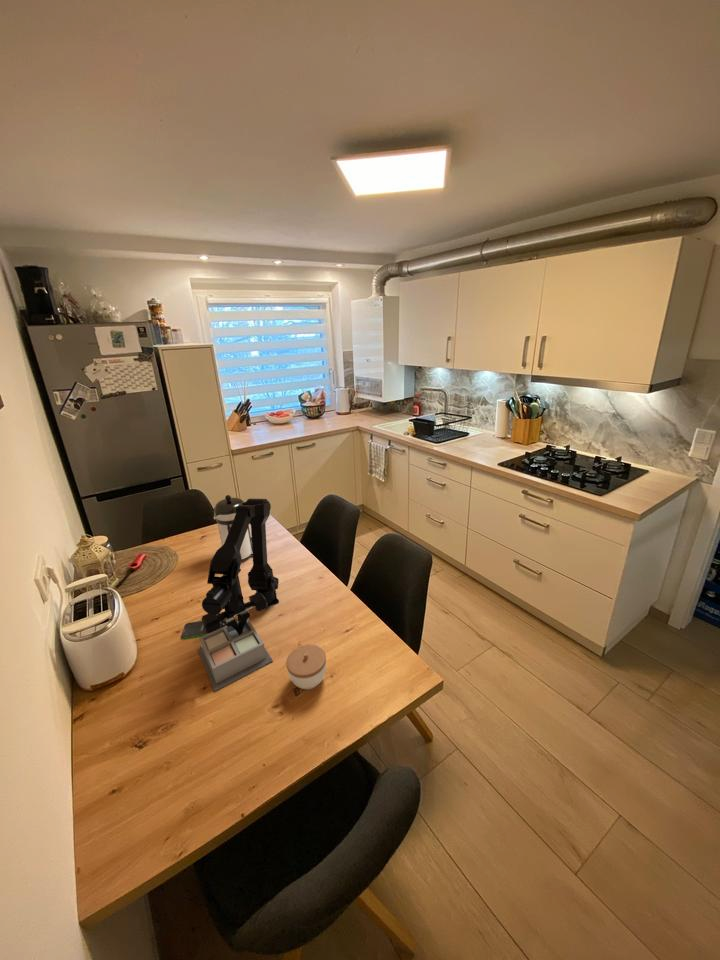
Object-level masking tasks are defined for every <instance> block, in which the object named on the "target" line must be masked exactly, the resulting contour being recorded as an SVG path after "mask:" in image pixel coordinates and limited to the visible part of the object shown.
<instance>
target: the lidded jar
mask: <svg viewBox="0 0 720 960" xmlns="http://www.w3.org/2000/svg"><path fill="white" fill-rule="evenodd" d="M285 663H286V669H287V673H288V676H289V679H290V680H291V683H293V685H295V686H296V687H297V688H299V689H302V690H307V691H308V690H312V689H315V688H316V687H317V686H318V685H319V684H320V683H321V682H322V681H323V679H324V677H325V676H326V675H325V674H326V669H327V655H326V652H325V650H324V649H323V648H322V647H320V646H318V645H316V644H312V643H311V644H310V643H309V644H304V645H303V644H302V645H300V646H298V647H295V648H294V649H293V650H292V651H291V652H289V654H288V656H287V658H286V661H285Z"/></svg>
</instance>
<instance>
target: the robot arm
mask: <svg viewBox="0 0 720 960" xmlns="http://www.w3.org/2000/svg"><path fill="white" fill-rule="evenodd" d="M271 508H272V507H271V502H270V501H268V499H267V498H247V499H246V501H243V503H240V505H239V506H237V508H236V515H235V517H234V520H233V523H232V525H231V528H230V530H229V533H228V535H227V538H226V540H225V543H224V545H223V546H222V545H221V546H220V547H219V548H218V549H217V550H215V553H214V555H213V557H212V559H211V560H210V564H209V571H208V574H207V575H208V576H207V582H206V583H207V584H209V585H212V587H211V588H210V590H208V591H207V592H206V594H205V595H206V596H205V597H204V598H203V600H202V602H201V608H202V609H203V611H204V612H205V613H206V614H204V615H202V617H201V621H202V623H203V626H204V628H205V630H206V632H207V633H211V632H213V631H215V630H218V629H219V627H220V622H219V621H221V620H224V622H225V624H226V625H227V627H229V626H232V627H233V628H234V629H235V630H236V631H237V633H238V634H239V635H240V634H242V631H243V628H244V626H245V623H246V621H247V619H249V618H251V613H250V612H249V611H250V609H253V608H255V611H256V612H257V611H258V612H260V611H263V610H265V609H267V608H270V607H272V606H274V605H276V604H278V603H280V600H279V599H278V597H277V591H276V590H278V589H279V578H278V577H276V576H274V572H273V569H272V567H271V565H270V564H269V563H268V552H267V551H268V547H267V532H266V531H267V530H266V524H267V520H268V519H269V517H270V516H271V515H270V512H271ZM248 526H249V527H250V536H251V537H252V554H253V556H252V567H251V569H250V570H249V571H248V572H247V583H248V587H249V588H250V590H251V591H255V592H254V594H252V595H249V597H248V600H249V601H248V602H244V596H243V593H242V586H241V582H240V576H239V574H240V572H241V571H242V569H241V566H242V565H241V564H242V563H241V562H242V560H243V559H242V557H241V554H240V549H241V546H242V543H243V540H244V537H245V535H246V532H247V529H248ZM241 559H242V560H241ZM215 575H221V576H215ZM223 610H224V611H223ZM235 616H236V617H237V619H236V618H235ZM237 621H238V624H237Z"/></svg>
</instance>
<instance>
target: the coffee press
mask: <svg viewBox="0 0 720 960" xmlns="http://www.w3.org/2000/svg"><path fill="white" fill-rule="evenodd" d="M224 497H225V498H223V499H221V500H219V501H218V502H217V503H216V504H215V506H214V509H213V512H214V513H213V520H215V521H216V523H217V527H218V532H219V536H220V541H221V546H223V545H224V543H225V540H226V538H227V535H228V533H229V530H230V528H231V525H232V523H233V520H234V517H235V515H236V508H237V506H239V505H240V503H243V502H244V500H243V499H241V498H238V497H232V496H231V495H230V494H227V495H225V496H224ZM240 554H241V557H242V559H241V561H242V560H244V559H246V558H248V557H249V556H252V557H253V554H252V536H251V529H250V525H249V526H248V529H247V532H246V535H245V537H244V540H243V543H242V546H241V549H240Z"/></svg>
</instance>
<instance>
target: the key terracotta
mask: <svg viewBox="0 0 720 960" xmlns="http://www.w3.org/2000/svg"><path fill="white" fill-rule="evenodd" d="M234 656H235V654H234V652H233V650H232V648H231V646H230V645H229V646H227V647H225V648H223V649H221V650H219V651H217V652H214V653H212V654H211V657H212V660H213V663H214V665H217V664H219V663H221V662H223V661H225V660H227V659H229V658H231V657H234Z"/></svg>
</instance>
